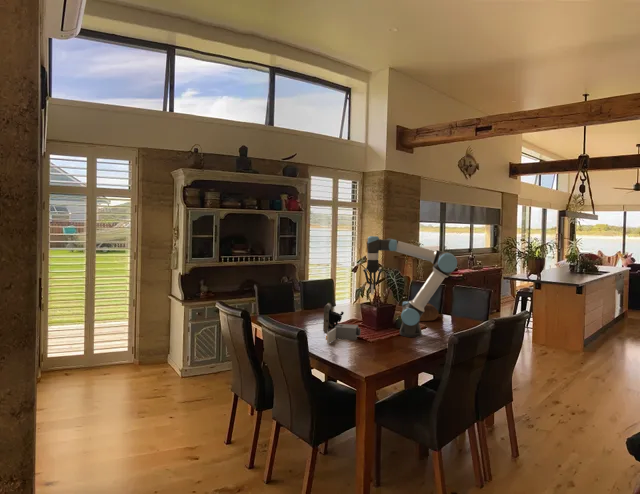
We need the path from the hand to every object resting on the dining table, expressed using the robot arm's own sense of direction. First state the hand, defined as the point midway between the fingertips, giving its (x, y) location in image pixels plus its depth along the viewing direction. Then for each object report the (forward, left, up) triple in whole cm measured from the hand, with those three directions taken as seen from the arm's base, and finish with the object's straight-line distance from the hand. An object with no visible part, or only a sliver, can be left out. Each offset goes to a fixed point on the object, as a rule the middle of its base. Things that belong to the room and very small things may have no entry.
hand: (372, 294), depth 287 cm
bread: (-30, -68, -30) cm, 80 cm away
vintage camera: (+27, -6, -30) cm, 41 cm away
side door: (+24, +18, -29) cm, 42 cm away
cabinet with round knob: (+16, +7, -29) cm, 34 cm away
